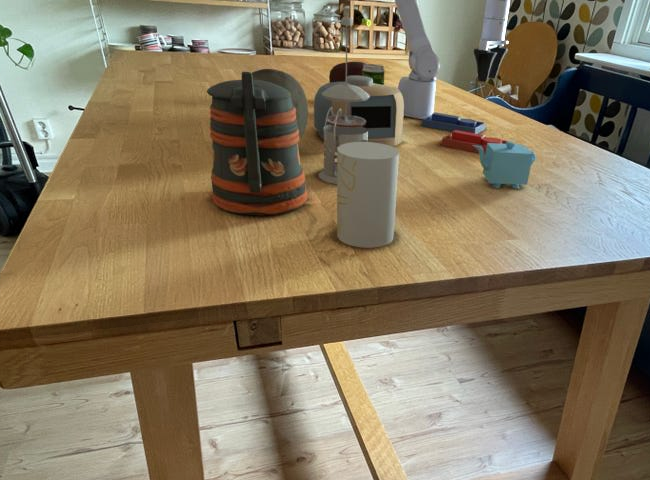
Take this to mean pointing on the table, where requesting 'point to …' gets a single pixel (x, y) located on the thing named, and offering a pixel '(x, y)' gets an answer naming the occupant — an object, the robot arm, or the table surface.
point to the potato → (340, 71)
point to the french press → (341, 121)
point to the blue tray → (452, 126)
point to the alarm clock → (366, 110)
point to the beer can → (374, 73)
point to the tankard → (255, 148)
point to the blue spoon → (453, 120)
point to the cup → (366, 193)
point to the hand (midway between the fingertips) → (486, 79)
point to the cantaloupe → (293, 87)
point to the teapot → (506, 163)
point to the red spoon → (474, 138)
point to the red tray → (462, 144)
